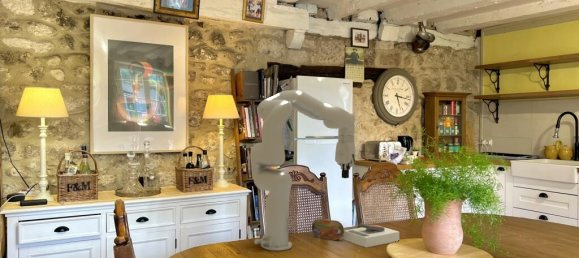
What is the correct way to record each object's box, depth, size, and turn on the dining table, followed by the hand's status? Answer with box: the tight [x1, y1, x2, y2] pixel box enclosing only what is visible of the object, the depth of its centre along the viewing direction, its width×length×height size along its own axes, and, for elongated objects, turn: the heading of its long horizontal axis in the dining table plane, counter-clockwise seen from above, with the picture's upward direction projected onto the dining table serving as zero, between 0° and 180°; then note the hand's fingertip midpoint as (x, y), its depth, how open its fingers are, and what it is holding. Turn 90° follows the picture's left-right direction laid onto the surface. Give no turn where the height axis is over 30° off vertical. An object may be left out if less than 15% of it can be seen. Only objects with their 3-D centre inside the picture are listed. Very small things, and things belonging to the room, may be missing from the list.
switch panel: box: [343, 224, 400, 248], centre depth 188 cm, size 20×14×5 cm
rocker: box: [358, 223, 386, 231], centre depth 188 cm, size 10×6×1 cm, turn 125°
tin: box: [311, 218, 345, 241], centre depth 190 cm, size 15×3×8 cm, turn 57°
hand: (345, 177), depth 204 cm, fingers closed
